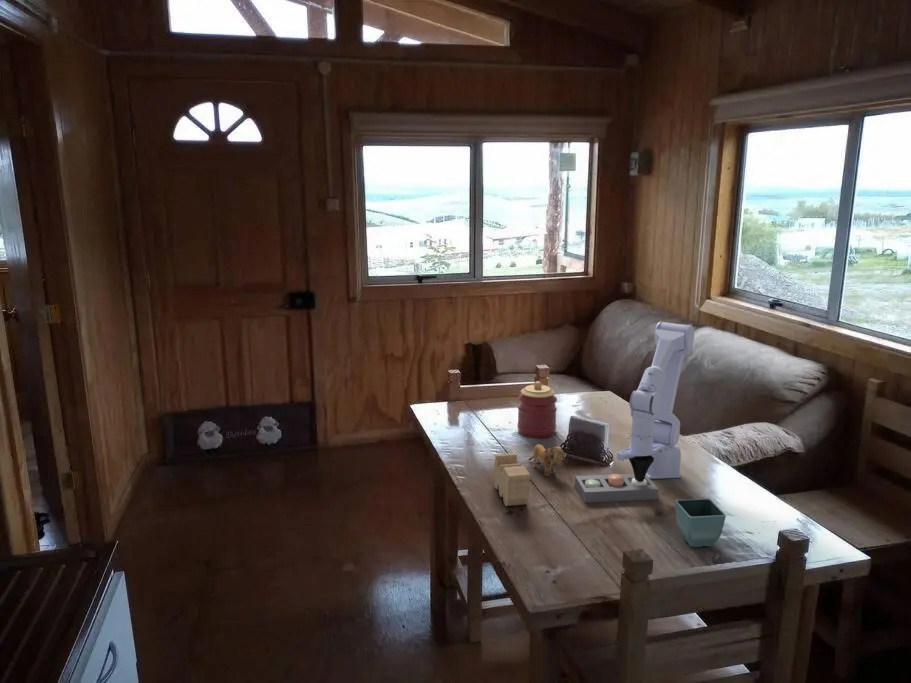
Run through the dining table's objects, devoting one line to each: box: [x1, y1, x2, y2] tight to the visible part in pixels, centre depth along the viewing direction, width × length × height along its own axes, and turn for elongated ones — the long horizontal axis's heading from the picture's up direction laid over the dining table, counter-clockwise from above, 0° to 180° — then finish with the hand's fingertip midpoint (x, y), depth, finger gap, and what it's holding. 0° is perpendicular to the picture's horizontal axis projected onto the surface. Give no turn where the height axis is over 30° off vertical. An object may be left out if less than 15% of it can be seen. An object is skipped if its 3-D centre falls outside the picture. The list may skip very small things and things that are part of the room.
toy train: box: [492, 452, 531, 507], centre depth 185 cm, size 6×17×10 cm, turn 11°
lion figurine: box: [528, 444, 567, 477], centre depth 201 cm, size 15×5×9 cm, turn 34°
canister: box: [516, 380, 558, 439], centre depth 230 cm, size 13×13×18 cm
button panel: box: [574, 473, 659, 503], centre depth 187 cm, size 20×10×3 cm, turn 95°
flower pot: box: [674, 498, 727, 548], centre depth 162 cm, size 9×9×9 cm
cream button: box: [631, 478, 647, 486], centre depth 188 cm, size 4×4×3 cm
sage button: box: [585, 479, 600, 488], centre depth 187 cm, size 4×4×3 cm
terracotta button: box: [608, 473, 624, 487], centre depth 187 cm, size 4×4×3 cm
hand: (639, 480), depth 188 cm, fingers closed
